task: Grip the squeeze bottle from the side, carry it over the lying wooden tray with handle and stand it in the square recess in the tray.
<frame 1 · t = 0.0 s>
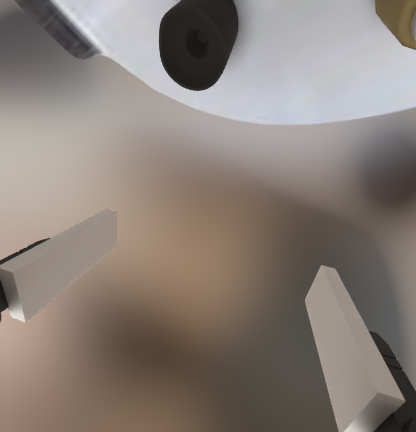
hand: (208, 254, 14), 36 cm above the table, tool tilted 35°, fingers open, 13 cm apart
pen holder: (211, 23, 33), on the table
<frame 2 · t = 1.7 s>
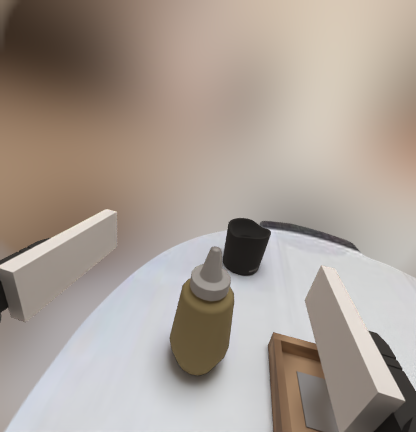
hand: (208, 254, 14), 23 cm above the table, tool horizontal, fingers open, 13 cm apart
wooden tray with handle: (323, 407, 27), on the table
squeeze bottle: (196, 354, 31), on the table
pen holder: (240, 264, 52), on the table
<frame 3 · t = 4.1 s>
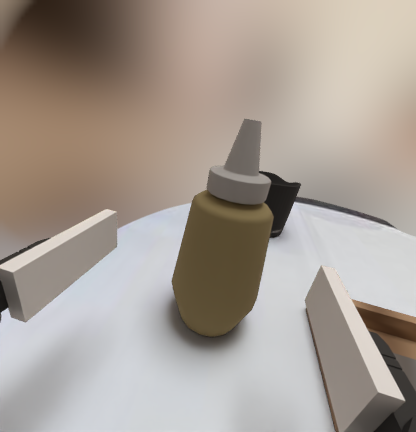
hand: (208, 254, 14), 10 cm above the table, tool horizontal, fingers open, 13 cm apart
wooden tray with handle: (401, 393, 18), on the table
squeeze bottle: (207, 312, 22), on the table
pen holder: (258, 227, 43), on the table
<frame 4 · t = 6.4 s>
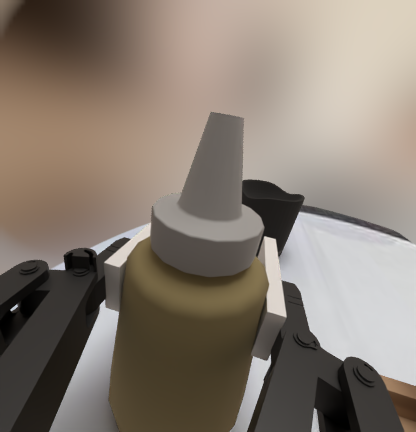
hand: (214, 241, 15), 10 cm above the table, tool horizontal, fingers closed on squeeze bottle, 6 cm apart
squeeze bottle: (173, 401, 15), on the table, touching gripper
pen holder: (253, 247, 36), on the table
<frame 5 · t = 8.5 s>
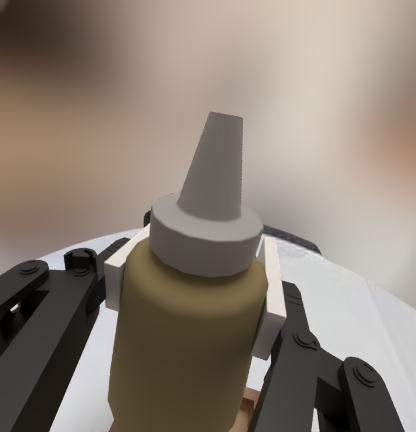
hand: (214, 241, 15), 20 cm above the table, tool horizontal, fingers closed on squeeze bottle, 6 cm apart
squeeze bottle: (173, 401, 15), point 9 cm above the table, touching gripper
when the fingers open (12 cm above the table, at t = 10.9 s): squeeze bottle drops 1 cm, resting on wooden tray with handle.
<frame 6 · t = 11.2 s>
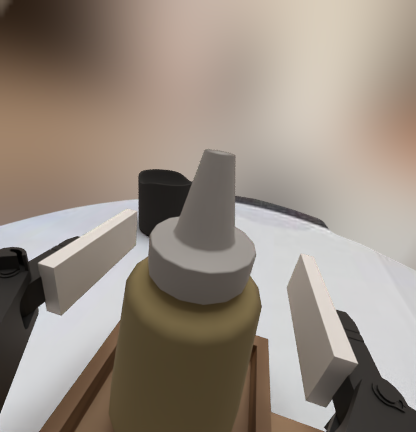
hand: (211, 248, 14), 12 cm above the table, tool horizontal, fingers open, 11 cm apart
wooden tray with handle: (170, 417, 16), on the table
squeeze bottle: (171, 412, 15), point 1 cm above the table, touching wooden tray with handle
pen holder: (162, 228, 41), on the table
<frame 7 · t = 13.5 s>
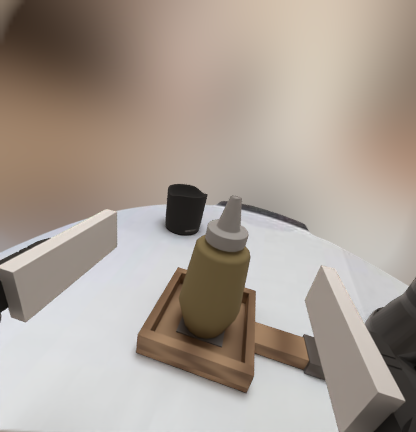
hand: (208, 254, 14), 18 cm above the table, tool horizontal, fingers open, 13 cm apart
wooden tray with handle: (203, 324, 30), on the table
squeeze bottle: (204, 320, 30), point 1 cm above the table, touching wooden tray with handle
pen holder: (182, 227, 55), on the table
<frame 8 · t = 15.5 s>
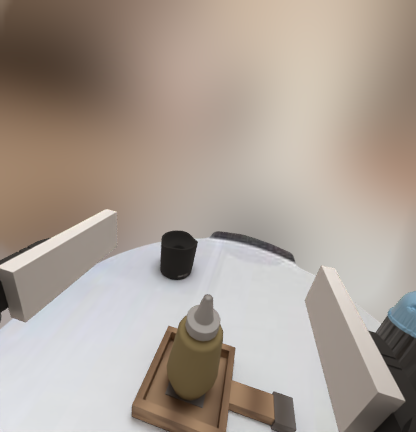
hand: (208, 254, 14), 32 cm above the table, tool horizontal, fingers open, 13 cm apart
wooden tray with handle: (188, 383, 35), on the table
squeeze bottle: (189, 380, 35), point 1 cm above the table, touching wooden tray with handle
pen holder: (175, 270, 61), on the table
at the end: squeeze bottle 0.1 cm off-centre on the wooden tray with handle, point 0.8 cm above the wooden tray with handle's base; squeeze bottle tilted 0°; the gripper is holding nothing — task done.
